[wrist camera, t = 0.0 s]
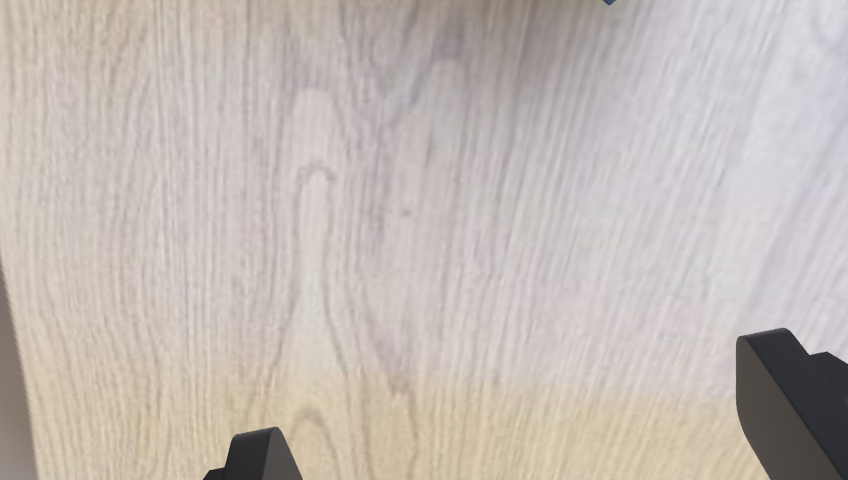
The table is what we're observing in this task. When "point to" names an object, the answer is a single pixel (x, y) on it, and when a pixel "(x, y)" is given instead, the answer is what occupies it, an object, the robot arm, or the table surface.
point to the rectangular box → (609, 1)
